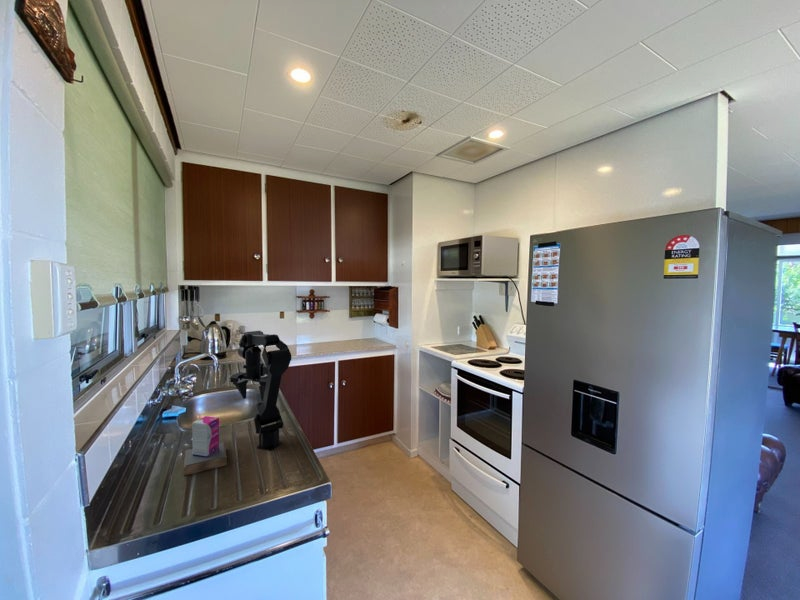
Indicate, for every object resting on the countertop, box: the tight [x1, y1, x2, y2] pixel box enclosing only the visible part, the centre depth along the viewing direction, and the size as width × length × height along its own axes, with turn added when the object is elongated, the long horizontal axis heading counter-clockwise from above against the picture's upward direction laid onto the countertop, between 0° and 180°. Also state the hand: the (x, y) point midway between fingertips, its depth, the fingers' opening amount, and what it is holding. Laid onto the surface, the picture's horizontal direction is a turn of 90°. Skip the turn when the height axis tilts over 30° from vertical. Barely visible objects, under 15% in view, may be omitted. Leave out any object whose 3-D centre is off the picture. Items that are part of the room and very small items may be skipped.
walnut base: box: [183, 441, 228, 476], centre depth 113 cm, size 12×12×3 cm
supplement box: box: [192, 415, 220, 458], centre depth 113 cm, size 6×6×12 cm
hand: (253, 399), depth 135 cm, fingers open, 9 cm apart
